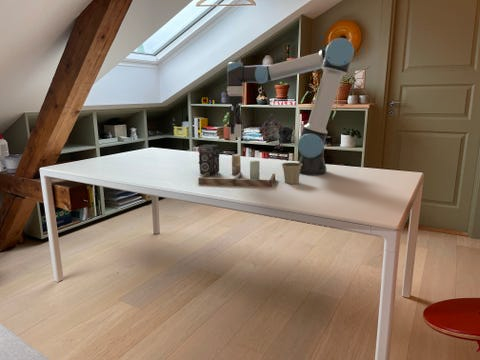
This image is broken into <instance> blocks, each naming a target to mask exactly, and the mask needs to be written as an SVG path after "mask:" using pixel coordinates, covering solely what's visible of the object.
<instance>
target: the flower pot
mask: <svg viewBox="0 0 480 360" xmlns="http://www.w3.org/2000/svg"><path fill="white" fill-rule="evenodd" d="M281 166H282V169H283V175H284V176H283V177H284V183H286V184H290V185H295V184H298V183H299V182H300V175H301V173H300V169H301V166H302V164H301V163H299V162H284V163H282V164H281Z"/></svg>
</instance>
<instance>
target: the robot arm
mask: <svg viewBox="0 0 480 360" xmlns="http://www.w3.org/2000/svg"><path fill="white" fill-rule="evenodd" d="M354 55H355V49H354V45H353V43H352V42H351V41H350V40H348V39H347V38H345V37H339V38H338V37H337V38H335V39H333V40H331V41H330V42H329V43H328V44H327V46H326V48H322V49H320V50H319V51H318V52H316V53H313V54H307V55H305V56H299V57H297V58H293V59H289V60H285V61H282V62H277V63H274V64H270V65H252V66H244V65H243V62H241V61H240V62H239V61H230V62H228V63H227V70H226V78H227V79H226V80H227V81H226V82H227V85H226V86H227V88H226V91H227V95H228V96H227V104H228V105H229V104H231V105H230V106H229V114H228V117H229V118H228V124H227V128H229V141H230V142H231V141H232V142H233V141H235V142H236V139H237V138H242V125H243V120H242V112H241V106H242V104H243V103H244V96H243V94H244V85H243V84H244V83H245V84H246V83H252V84H261V85H263V84H265V83H269V82H271V81H275V80H280V79H284V78H287V77H292V76H296V75H300V74H304V73H308V72H312V71H316V70H320V69H322V71H323V72H322V76H321V79H320V83H319V85H318V89H317V92H316V95H315V99H314V102H313V105H312V109H311V111H310V114H309V118H308V122H307V123H306V124H304V125H303V127H302V128H301V132H300V137H299V139H298V140H297V144H296V145H297V149H298V152H299V153H300V158H299V161H298V163H301V164H302V166H301V169H300V175H310V176H313V175H314V176H316V175H317V176H318V175H319V176H321V175H325V174H327V165H326V162H325V158H324V155H325V154H324V151H325V143H326V138H327V136H328V132H329V131H328V130H327V125H328V123H329V122H328V121H329V119H330V116H331V114H332V109H333V107H334V104H335V101H336V98H337V95H338V91H339V88H340V85H341V82H342V79H343V77H344V76H346V75H347V74H348V72H349V68H350V65H351V62H352V59H353V57H354Z"/></svg>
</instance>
